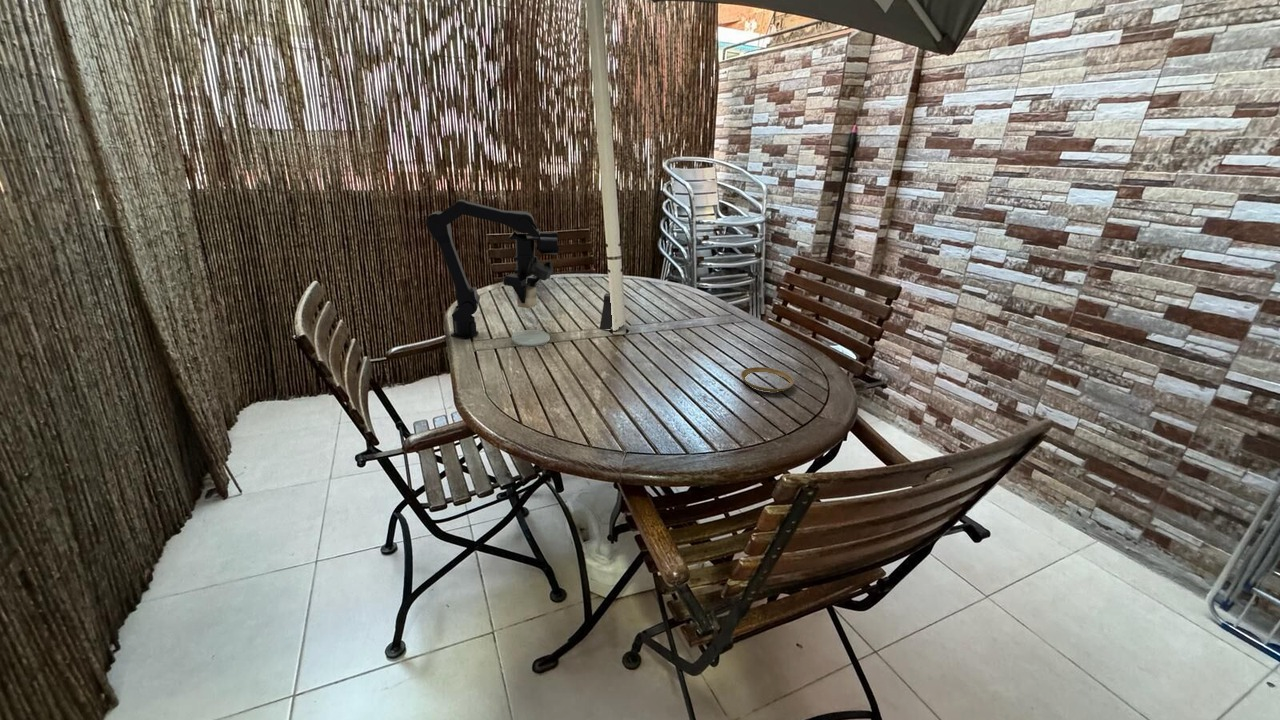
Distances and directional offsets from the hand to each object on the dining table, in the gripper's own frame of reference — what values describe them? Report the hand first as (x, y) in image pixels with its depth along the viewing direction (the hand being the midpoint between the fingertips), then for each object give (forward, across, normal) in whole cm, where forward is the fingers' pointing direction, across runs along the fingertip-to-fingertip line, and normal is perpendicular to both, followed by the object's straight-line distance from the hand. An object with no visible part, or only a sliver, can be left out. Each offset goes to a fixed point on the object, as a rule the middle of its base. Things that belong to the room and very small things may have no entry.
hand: (526, 301), depth 167 cm
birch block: (+2, 0, 0) cm, 2 cm away
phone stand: (+12, +19, -23) cm, 32 cm away
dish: (+12, -4, -3) cm, 13 cm away
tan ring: (+12, -6, -79) cm, 80 cm away
